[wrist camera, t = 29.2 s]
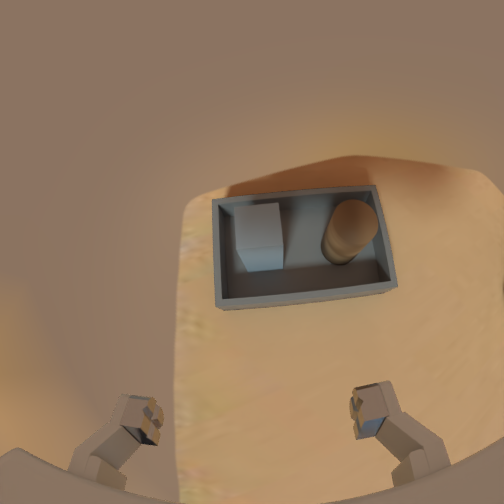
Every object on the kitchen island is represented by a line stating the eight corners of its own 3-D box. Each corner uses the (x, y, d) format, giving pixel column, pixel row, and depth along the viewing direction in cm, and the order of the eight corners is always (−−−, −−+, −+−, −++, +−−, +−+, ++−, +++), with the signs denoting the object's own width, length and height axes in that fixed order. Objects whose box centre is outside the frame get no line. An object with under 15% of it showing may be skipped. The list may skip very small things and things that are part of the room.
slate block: (279, 236, 38) (278, 202, 28) (283, 269, 36) (283, 245, 27) (246, 239, 38) (233, 207, 28) (248, 272, 37) (236, 249, 27)
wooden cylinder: (356, 230, 37) (376, 202, 28) (356, 266, 35) (379, 246, 27) (321, 227, 37) (332, 197, 29) (319, 263, 36) (332, 241, 27)
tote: (366, 201, 39) (375, 184, 34) (384, 293, 35) (397, 286, 30) (219, 215, 40) (212, 199, 36) (224, 310, 36) (215, 306, 32)
